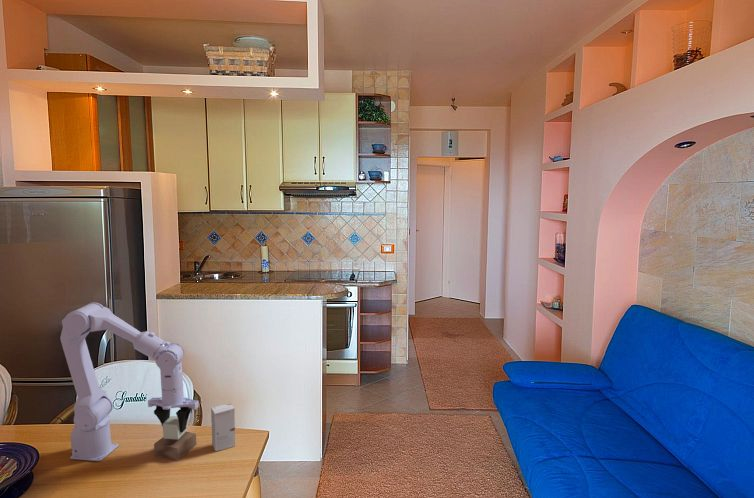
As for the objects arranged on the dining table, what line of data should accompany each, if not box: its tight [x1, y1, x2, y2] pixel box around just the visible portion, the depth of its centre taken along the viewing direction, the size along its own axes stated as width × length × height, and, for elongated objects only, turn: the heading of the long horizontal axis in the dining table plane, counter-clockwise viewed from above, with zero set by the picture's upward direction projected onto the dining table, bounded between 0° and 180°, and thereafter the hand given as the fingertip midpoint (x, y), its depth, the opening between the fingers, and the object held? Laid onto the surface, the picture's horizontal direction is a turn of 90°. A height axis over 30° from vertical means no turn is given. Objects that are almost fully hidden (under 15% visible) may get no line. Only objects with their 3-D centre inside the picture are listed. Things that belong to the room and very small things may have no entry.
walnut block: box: [153, 431, 198, 461], centre depth 131 cm, size 8×8×4 cm
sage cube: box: [162, 415, 187, 439], centre depth 131 cm, size 4×4×4 cm
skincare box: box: [210, 402, 236, 452], centre depth 133 cm, size 6×4×12 cm
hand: (174, 429), depth 131 cm, fingers closed on sage cube, 4 cm apart
